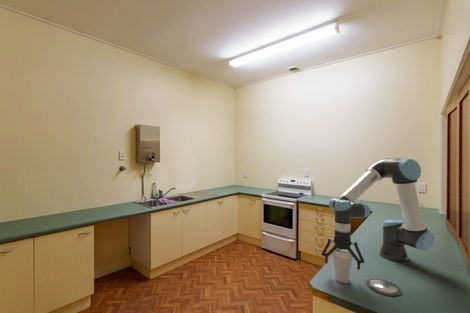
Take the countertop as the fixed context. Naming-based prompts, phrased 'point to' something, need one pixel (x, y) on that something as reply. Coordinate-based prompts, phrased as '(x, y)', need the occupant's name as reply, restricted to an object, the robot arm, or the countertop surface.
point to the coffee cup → (342, 264)
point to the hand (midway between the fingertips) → (342, 272)
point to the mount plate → (383, 287)
